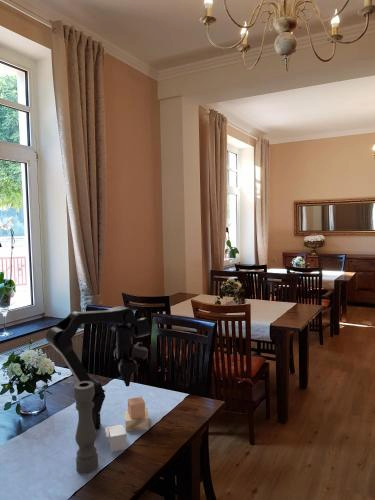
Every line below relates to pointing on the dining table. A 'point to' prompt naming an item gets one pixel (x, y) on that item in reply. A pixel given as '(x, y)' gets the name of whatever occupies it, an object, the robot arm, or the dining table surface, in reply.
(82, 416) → the candle holder
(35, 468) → the dining table surface
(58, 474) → the dining table surface
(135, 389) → the dining table surface
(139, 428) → the maple base block
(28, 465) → the dining table surface
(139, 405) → the terracotta block
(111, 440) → the white cube
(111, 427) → the card
